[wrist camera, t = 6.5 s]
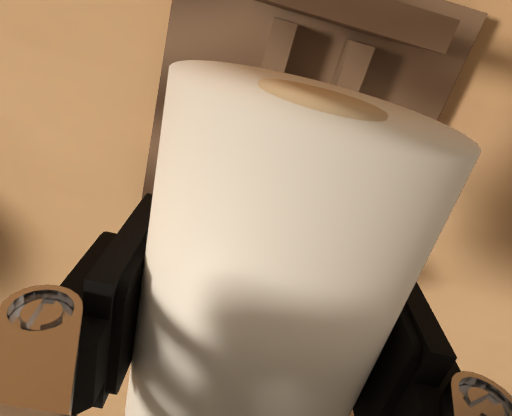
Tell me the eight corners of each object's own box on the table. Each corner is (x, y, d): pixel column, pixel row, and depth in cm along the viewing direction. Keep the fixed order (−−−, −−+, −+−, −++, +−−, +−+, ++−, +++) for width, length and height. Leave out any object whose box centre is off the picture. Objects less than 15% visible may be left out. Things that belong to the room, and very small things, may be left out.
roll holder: (355, 275, 29) (382, 362, 22) (142, 221, 28) (95, 294, 21) (477, 13, 22) (581, 13, 14) (189, -76, 20) (140, -128, 13)
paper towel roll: (302, 380, 14) (323, 575, 9) (149, 353, 14) (85, 543, 9) (414, 102, 10) (564, 189, 5) (196, 48, 9) (122, 86, 4)
